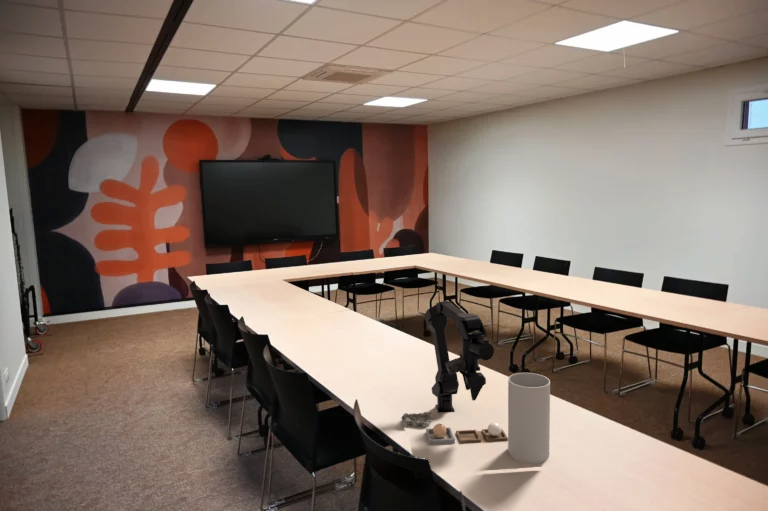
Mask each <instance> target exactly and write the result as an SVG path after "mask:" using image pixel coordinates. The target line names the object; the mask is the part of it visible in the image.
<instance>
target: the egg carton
mask: <svg viewBox="0 0 768 511" xmlns="http://www.w3.org/2000/svg"><path fill="white" fill-rule="evenodd" d="M432 415H433V414H432V412H431V411H428V412H427V411H425V412H423V413H421V412H420V413H415V412H414V413H406V412H405V413H403V415H402V416H401V418H400V419H401V426H402V427H403V428H405V429H407V427H408V425H412V426H413V427H417V426H422V428H426V427H430V425H431V424H430V423H432ZM416 419H420V420H426V422H424V421H419V420H417V421H416Z"/></svg>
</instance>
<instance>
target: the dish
mask: <svg viewBox="0 0 768 511" xmlns="http://www.w3.org/2000/svg"><path fill="white" fill-rule="evenodd" d="M446 430H447V432H446V433H448V435H449V438H437V439H432V438H431V437H432V436H431V434H434V433H433V428H426V429H425V433H426V437H427V440H428V443H429V445H430V446H431V445H446V444H456V438H455V436H454V434H453V432H452V429H451V427H446Z"/></svg>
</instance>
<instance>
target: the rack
mask: <svg viewBox="0 0 768 511" xmlns="http://www.w3.org/2000/svg"><path fill="white" fill-rule="evenodd" d="M501 429H502V431H501V434H500V435H499V436H496V437H494V436H491V435H490V434H489V432H488V428H484V429H483V428H482V429H481V430H477V429H467V430H466V429H464V430H456V431H455V434H456V436H457V438H458V441H459V443H460V445H464V444H465V445H468V444H481V443H482V444H483V443H485V444H486V443H497V442H498V443H500V442H508V435H506V433H505V431H504V430H503V428H502V427H501Z"/></svg>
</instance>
